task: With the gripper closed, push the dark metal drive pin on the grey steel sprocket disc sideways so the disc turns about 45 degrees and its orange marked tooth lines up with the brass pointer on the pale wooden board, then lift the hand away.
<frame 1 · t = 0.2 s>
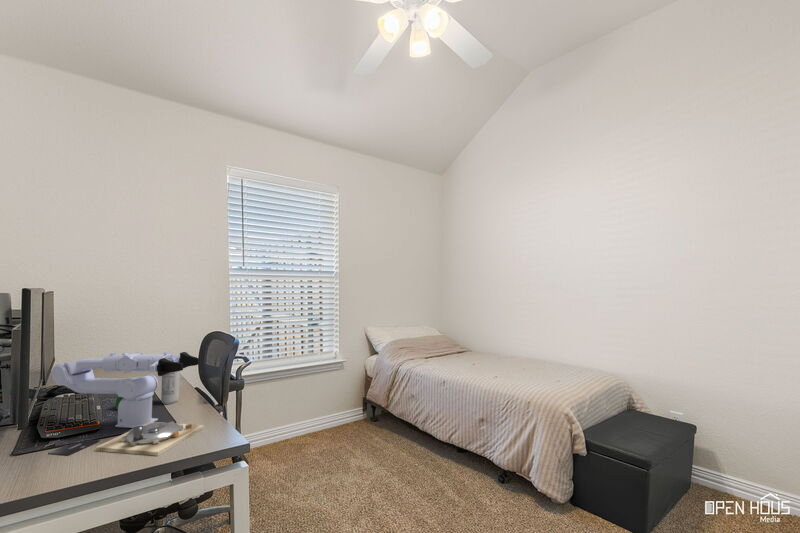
hand: (190, 364, 130), 21 cm above the table, tool horizontal, fingers open, 7 cm apart
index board: (153, 438, 121), on the table
energy drink can: (170, 402, 155), on the table
clamp: (135, 408, 149), on the table
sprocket: (153, 427, 121), point 4 cm above the table, hinge at 0.0°
solid state drive: (74, 449, 115), on the table
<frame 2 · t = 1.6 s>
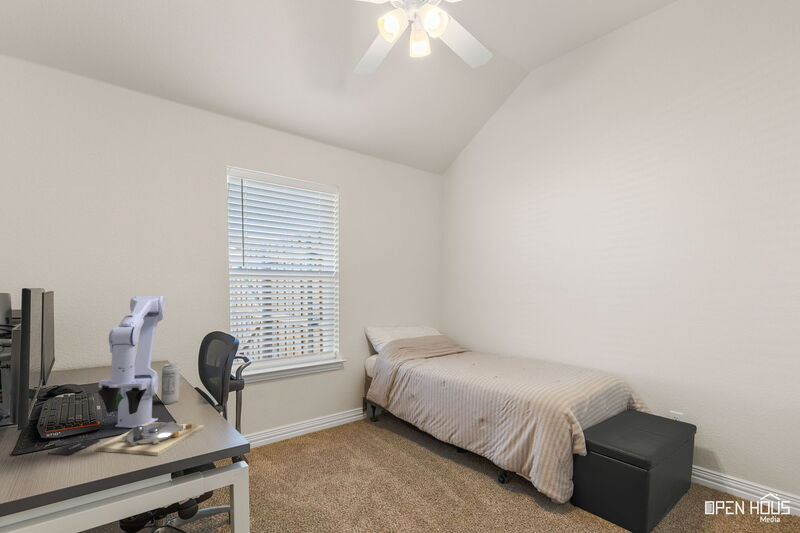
hand: (122, 412, 117), 9 cm above the table, tool pointing down, fingers open, 7 cm apart
nothing on the table moved.
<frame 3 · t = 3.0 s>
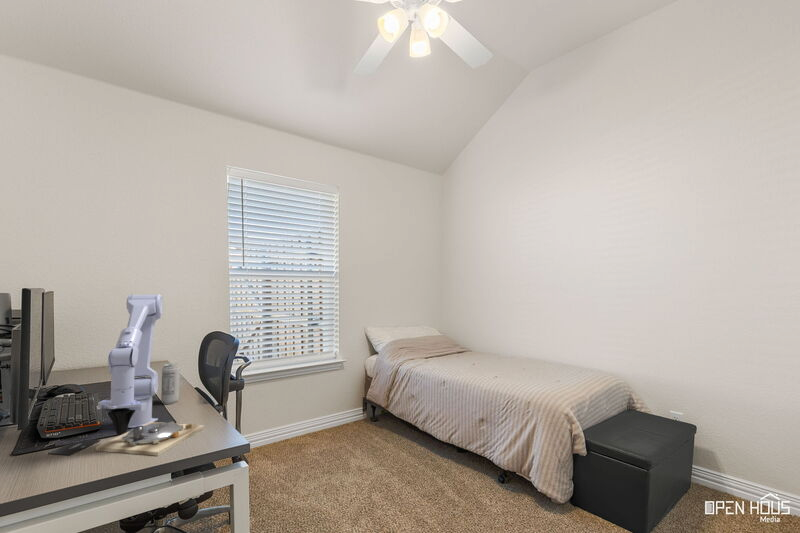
hand: (121, 433, 117), 3 cm above the table, tool pointing down, fingers closed
nothing on the table moved.
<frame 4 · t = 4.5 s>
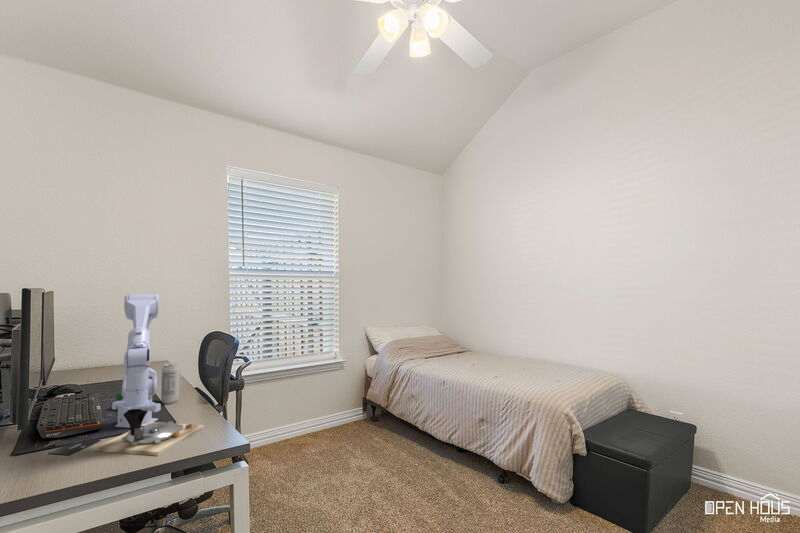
hand: (135, 434, 116), 3 cm above the table, tool pointing down, fingers closed, pressing on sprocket
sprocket: (153, 427, 121), point 4 cm above the table, hinge at 2.8°, touching gripper
everything else where it was.
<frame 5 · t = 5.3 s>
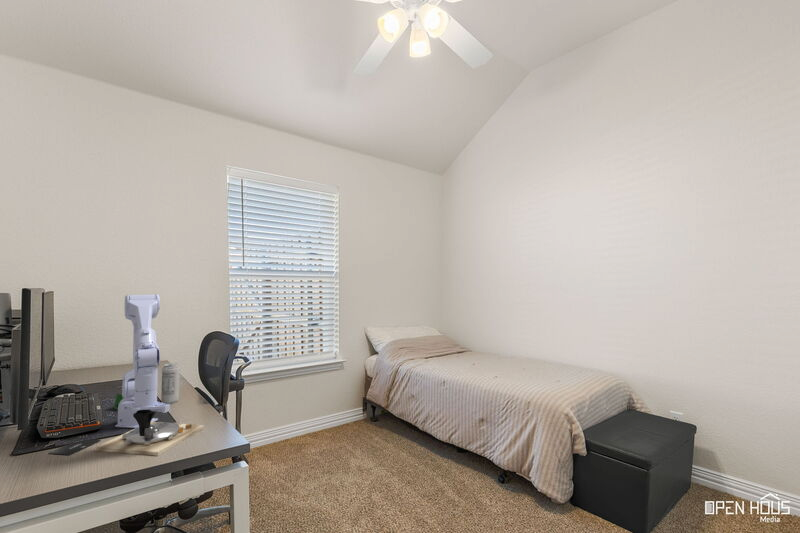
hand: (144, 434, 116), 3 cm above the table, tool pointing down, fingers closed, pressing on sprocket
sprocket: (153, 427, 121), point 4 cm above the table, hinge at 29.2°, touching gripper
everything else where it was.
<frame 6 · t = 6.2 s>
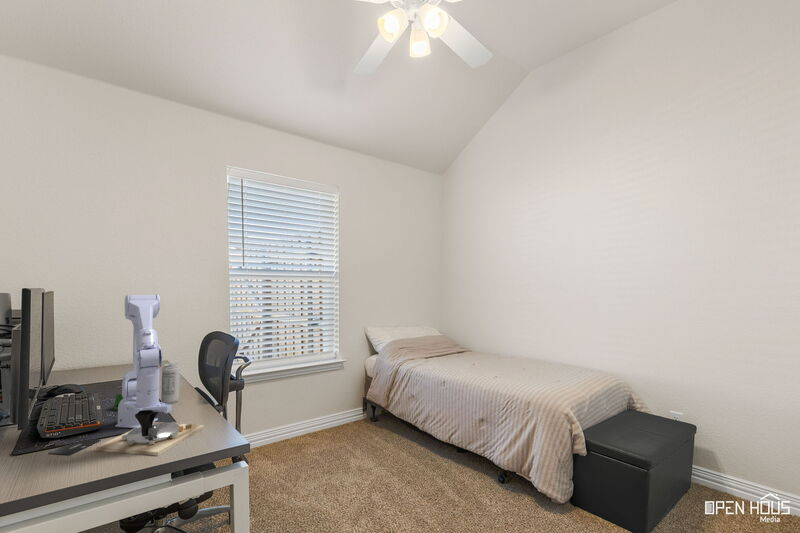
hand: (146, 435, 116), 3 cm above the table, tool pointing down, fingers closed
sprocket: (153, 427, 121), point 4 cm above the table, hinge at 37.4°, touching gripper
everything else where it was.
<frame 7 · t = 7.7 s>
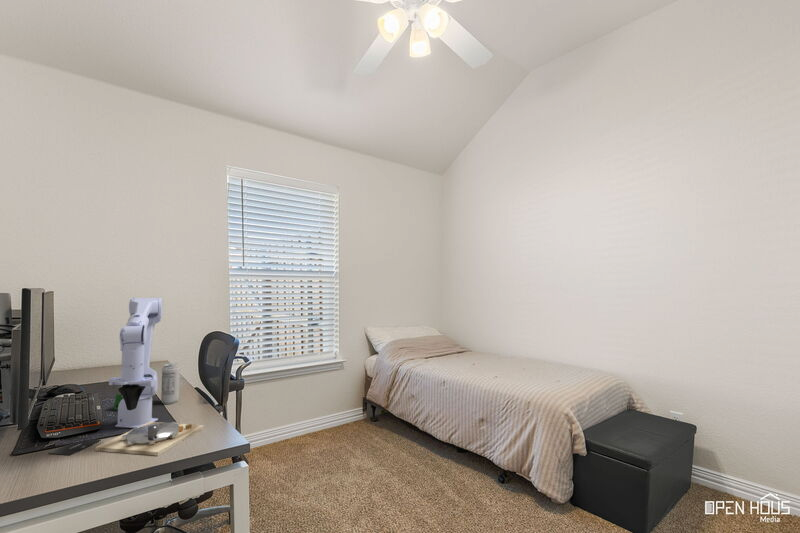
hand: (131, 409, 120), 9 cm above the table, tool pointing down, fingers closed
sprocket: (153, 427, 121), point 4 cm above the table, hinge at 37.6°
everything else where it was.
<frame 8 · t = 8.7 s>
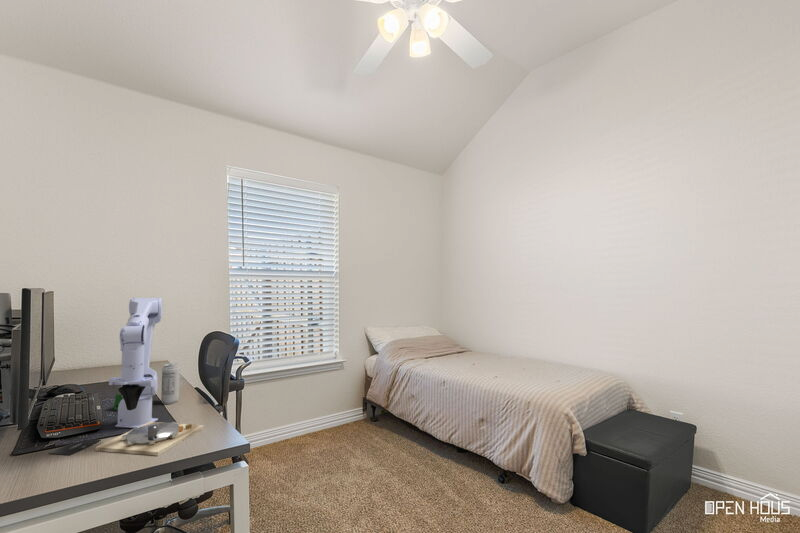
hand: (131, 409, 120), 9 cm above the table, tool pointing down, fingers closed
nothing on the table moved.
at the end: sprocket at +38° (first picture: +0°) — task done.
